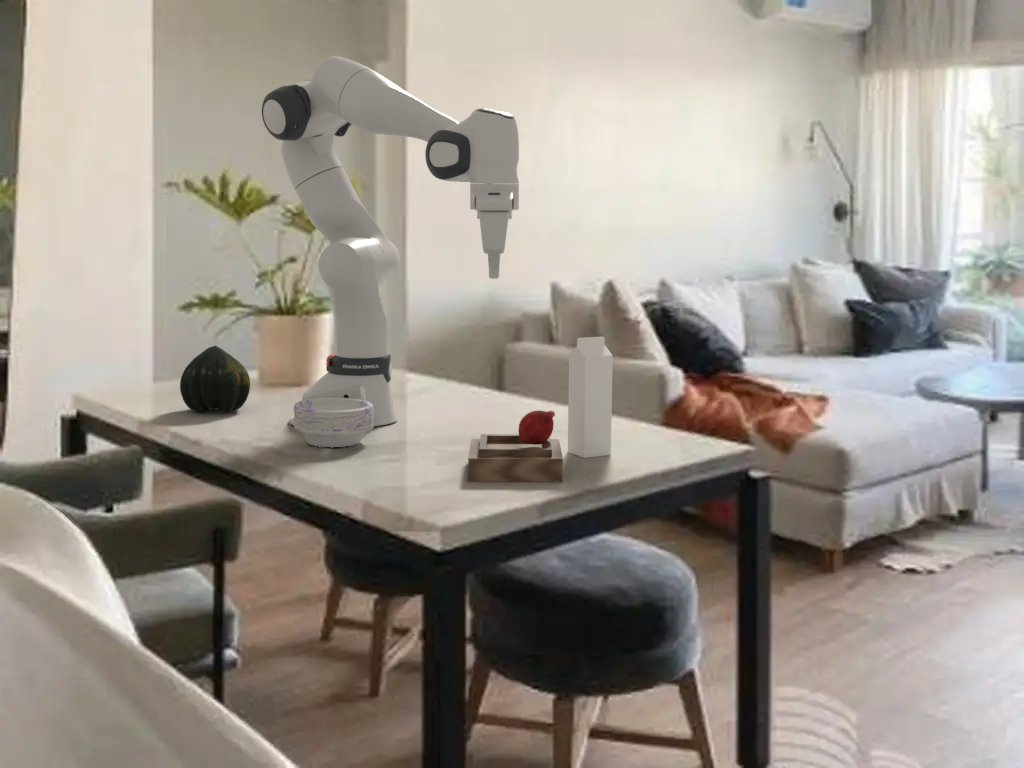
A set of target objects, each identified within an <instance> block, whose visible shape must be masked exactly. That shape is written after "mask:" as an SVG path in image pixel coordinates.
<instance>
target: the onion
mask: <svg viewBox="0 0 1024 768" xmlns="http://www.w3.org/2000/svg"><path fill="white" fill-rule="evenodd" d="M555 416H556V413H555V411H554V410H548V411H546V410H545V411H544V410H532V411H530V412H528V413H527V414H524V416H523V417H522V418H521V419H520V422H519V424H518V435H519V441H520V442H521V443H522V444H533V445H538V444H542V443H544V442H545V441H547V439H548V438H549V437H550V438H551V436H552V433H553V430H554V417H555Z"/></svg>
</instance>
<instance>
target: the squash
mask: <svg viewBox="0 0 1024 768" xmlns="http://www.w3.org/2000/svg"><path fill="white" fill-rule="evenodd" d="M250 390H251V378H250V375H249V373H248V370H247V369H246V367H245V366H244V365H243V364H242V363H241V362H240V361H239V360H237V359H236V358H235V357H233V355H231V354H229V353H228V352H227V351H225V350H224V349H223V348H221V347H219V346H217V345H212V346H209V347H208V348H206V349H205V350H203V351H201V353H199V354H197V356H195V357H194V358H193V359H192V360H191V361H190V362H189V363H188V364H187V366H186V367H185V369H184V371H183V372H182V374H181V377H180V381H179V391H180V394H181V397H182V401H183V402H184V404H185V405H186V407H188V408H189V409H190V410H191V411H193V412H196V413H204V412H205V413H206V412H207V411H209V410H217V412H219V413H220V412H221V413H220V414H223V413H226V414H228V413H229V412H233V411H237V410H240V409H241V407H243V406H244V405H245V403H246V401H247V400H248V398H249V394H250Z"/></svg>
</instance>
